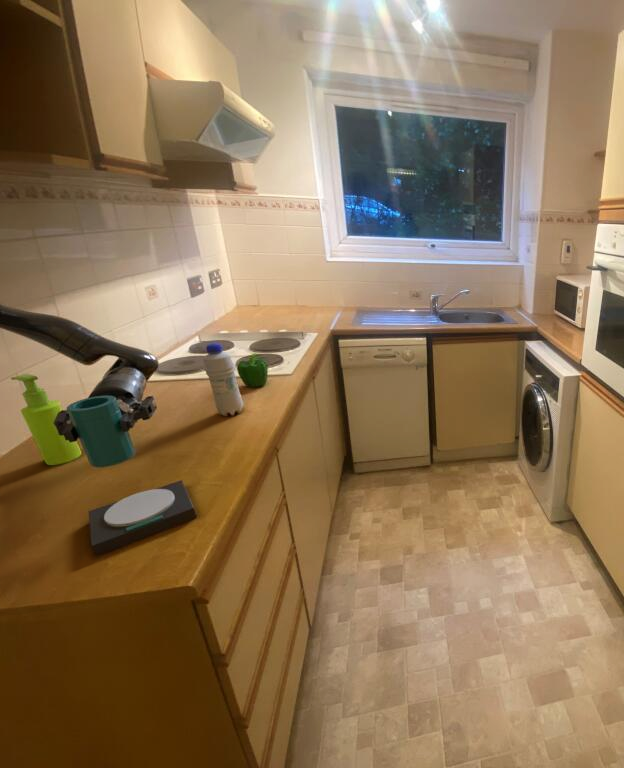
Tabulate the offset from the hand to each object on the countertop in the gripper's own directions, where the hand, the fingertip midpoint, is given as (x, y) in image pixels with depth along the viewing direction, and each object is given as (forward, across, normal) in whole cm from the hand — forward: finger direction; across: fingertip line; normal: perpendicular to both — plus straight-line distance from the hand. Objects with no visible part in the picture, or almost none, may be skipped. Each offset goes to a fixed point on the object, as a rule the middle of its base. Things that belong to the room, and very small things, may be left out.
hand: (97, 431), depth 74 cm
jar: (-2, 0, -6) cm, 7 cm away
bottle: (-41, -16, -18) cm, 47 cm away
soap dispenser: (-33, +17, -18) cm, 41 cm away
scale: (+3, -2, -18) cm, 18 cm away
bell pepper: (-60, -23, -18) cm, 66 cm away
